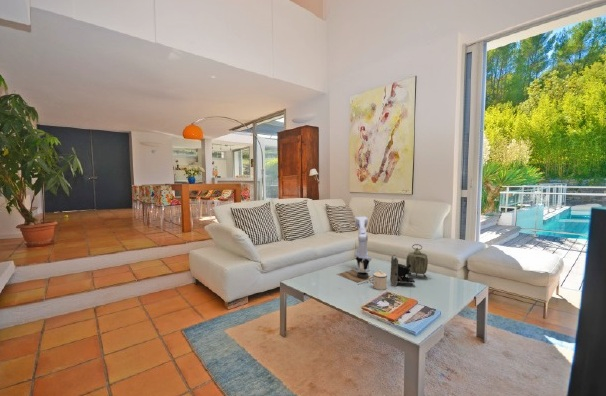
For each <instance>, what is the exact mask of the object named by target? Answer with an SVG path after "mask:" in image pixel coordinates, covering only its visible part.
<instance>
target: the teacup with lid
mask: <svg viewBox="0 0 606 396" xmlns="http://www.w3.org/2000/svg"><path fill="white" fill-rule="evenodd" d="M369 276H370V277H369V279H368V282H369V283H370V284H372V285H373V286H372V287H373V288H374V289H375V290H382V291H383V290H386V289H387V277H388V275H387V273H385V272H383V271H382V270H380V269H379V270H378V271H376V272H374V273H373V274H372V275H369ZM371 277H372V278H371ZM370 278H371V279H372V280H371V279H370ZM370 280H371V281H370Z"/></svg>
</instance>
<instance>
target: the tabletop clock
mask: <svg viewBox="0 0 606 396" xmlns="http://www.w3.org/2000/svg"><path fill="white" fill-rule="evenodd" d="M414 246H419V247H421V248H418V247H417V248H416V247H414ZM411 248H412V249H413V250H414V251H409V253H408V254H407V257H406V261H405V262H406V263H405V266H409V265H408V264H410V265H411V267H409V269H410V272H409V274H408V276H411V274H415V276H414V278H416V279H418V275H423V277H424V278H425V277H427V276H426V274H427V270H428V266H429V265H428V264H429V263H428V261H429V259H428V256H427V254H426V253H424V252H421V250H422V249H423V246H422V245H421V244H419V243H417V244H416V243H415V244H413V245H412V246H411Z"/></svg>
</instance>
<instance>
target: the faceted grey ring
mask: <svg viewBox="0 0 606 396" xmlns="http://www.w3.org/2000/svg"><path fill="white" fill-rule="evenodd" d="M368 275H369V273H368V272H367V271H366V272H365V273H361V272H360V271H358V273H357V277H358V278H361V279H367V278H368Z"/></svg>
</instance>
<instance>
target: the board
mask: <svg viewBox="0 0 606 396" xmlns="http://www.w3.org/2000/svg"><path fill="white" fill-rule="evenodd" d="M358 272H359V270H358V271H357V270H354V269H351V270H347V271H344V272H340V273H336V276H339V277H342V278H344V279H347V280H350V281H352V282H354V283H356V284H357V286H359V285H362V284H366V283H368V282H369V277H370V276H371V275H369V274H368V278H367V279H361V278H358V277H357V273H358ZM372 279H373V278H372V277H371V278H370V281H371V282H372ZM367 280H368V281H367Z"/></svg>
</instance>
